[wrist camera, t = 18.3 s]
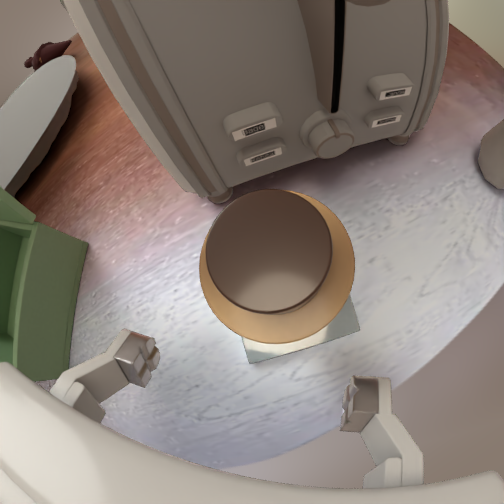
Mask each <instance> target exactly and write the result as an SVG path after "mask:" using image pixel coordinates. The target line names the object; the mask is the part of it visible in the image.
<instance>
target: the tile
mask: <svg viewBox="0 0 504 504" xmlns="http://www.w3.org/2000/svg"><path fill="white" fill-rule="evenodd" d="M358 331H360V326H359V323H358V320H357V316H356V313H355V310H354V306H353V303H352V300H351V297H350V294H349V296H348V299H347V301H346V302H345V304H344V306H343V308H342V309H341V311H340V312H339V313H338V314H337V316H336V317H335V318H334V319H333V320H332V321H331V322H330V323H329V324H328V325H327V326H325V327H324V328H323V329H321V330H320V331H319V332H317V333H315V334H313V335H311V336H310V337H307V338H305V339H302V340H299V341H296V342H291V343H285V344H266V343H260V342H256V341H253V340H250V339H247V338H244V337H242V336H241V337H242V340H243V344H244V347H245V351H246V354H247V358H248V361H249V364H252V363H256V362H260V361H264V360H268V359H272V358H275V357H279V356H283V355H286V354H290V353H293V352H297V351H300V350H303V349H307V348H310V347H313V346H316V345H319V344H323V343H326V342H329V341H332V340H335V339H338V338H341V337H344V336H346V335H349V334H352V333H355V332H358Z"/></svg>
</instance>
